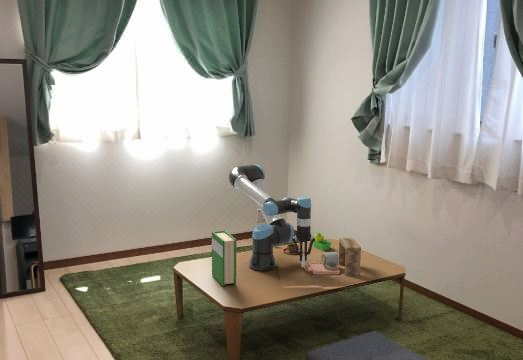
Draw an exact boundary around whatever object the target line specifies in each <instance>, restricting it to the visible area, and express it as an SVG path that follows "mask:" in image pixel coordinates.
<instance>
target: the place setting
mask: <svg viewBox="0 0 523 360" xmlns="http://www.w3.org/2000/svg"><path fill="white" fill-rule="evenodd" d="M286 246H287V247H285V248H283V250H282V251H283V253H284V254H285V255H290V256H296V255H297V253H296V249H295V244H294V243H287V244H286ZM297 247H298V251H300V244H297ZM286 250H287V251H288V252H287V251H286ZM302 253H303V249H302Z"/></svg>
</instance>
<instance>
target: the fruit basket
mask: <svg viewBox="0 0 523 360" xmlns="http://www.w3.org/2000/svg"><path fill="white" fill-rule="evenodd" d="M314 237H315V240H314V242H313V247H314V248H316V249H318V250H320V251H322V252H324V251H328V250H330V247H331V245H332V242H331V241H329V240H326V239H324V238H325V237H324V235H323V234H322V233H320V232H316V233H315V235H314Z"/></svg>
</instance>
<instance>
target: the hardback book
mask: <svg viewBox="0 0 523 360" xmlns="http://www.w3.org/2000/svg"><path fill="white" fill-rule="evenodd" d="M211 276H213V278H214V279H215V280H216V282H218V283H219V284H220V285H221V286H222V287H225V285H228V284H233V285H237V238H235V237H234V236H233V235H232V234H231V233H229V232H228V231H226V230H215V231H211Z"/></svg>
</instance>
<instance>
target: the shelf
mask: <svg viewBox="0 0 523 360" xmlns="http://www.w3.org/2000/svg"><path fill="white" fill-rule="evenodd" d="M338 240H339V241H338V265H337V266H340V265H341V266H342V265H343V266H344V267H345V268H344V275H345V276H360V275H361V272H360V271H361V256H362V255H361V254H362V248H361V245H360V244H358V242H357V241H356V240H355V238H353V237H351V238H350V237H348V238H347V237H346V238H345V237H343V238H342V237H341V238H339V239H338Z"/></svg>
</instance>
